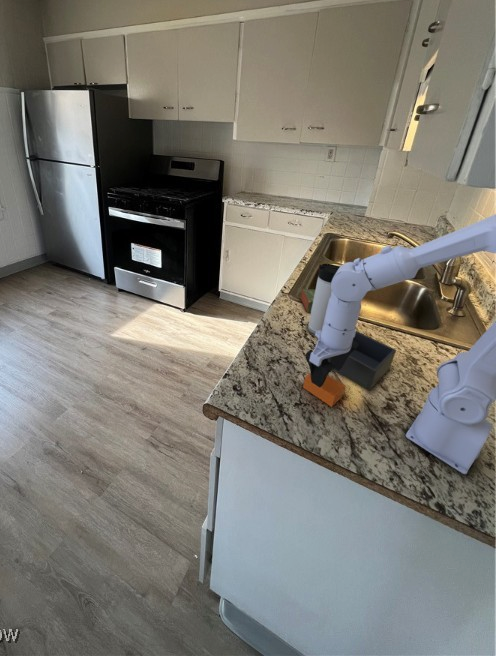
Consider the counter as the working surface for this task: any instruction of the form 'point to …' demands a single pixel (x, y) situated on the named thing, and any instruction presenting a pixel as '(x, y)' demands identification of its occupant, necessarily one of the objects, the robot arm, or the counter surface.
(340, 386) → the block
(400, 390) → the counter surface
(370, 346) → the bin
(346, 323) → the robot arm
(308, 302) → the carton
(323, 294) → the travel mug
